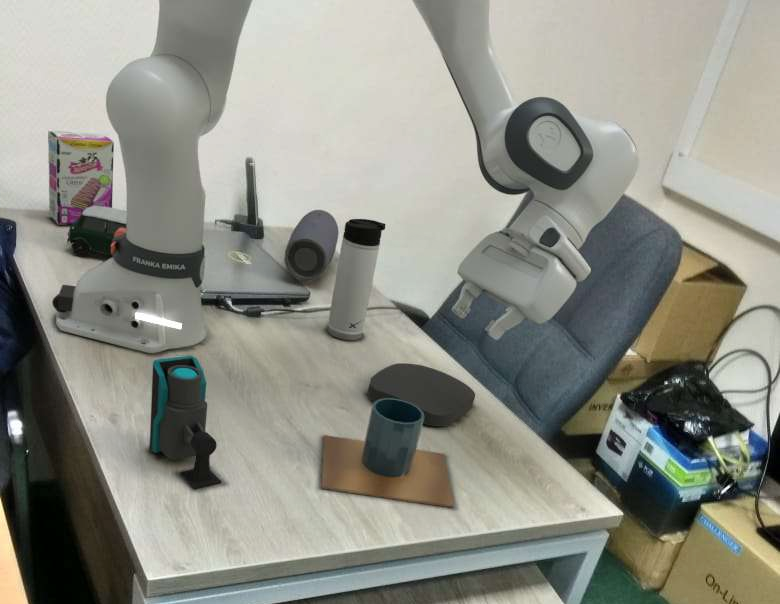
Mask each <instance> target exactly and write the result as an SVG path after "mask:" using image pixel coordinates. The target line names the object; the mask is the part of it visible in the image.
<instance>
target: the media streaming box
mask: <svg viewBox="0 0 780 604" xmlns="http://www.w3.org/2000/svg"><path fill="white" fill-rule="evenodd" d="M367 396H368V398H369V399H371V401H373V402H375V401H376V400H379V399H383V398H394V399H400V400H404V401H407V402H410V403H412V404H414V405H416V406H417V407H419V408H420V409H421V410H422V411H423V413H424V421H423V425H426V426H427V425H428V426H432V427H446V426H450V425H451V424H453V423H455V422H456V421H457V420H459V419H460V418H462V417H463V416H464V415H466V413H468V412H469V411H470V410H471V409H472V408H473V405H474V402H475V398H476V393H475V391H474V390H473V389H472V388H471V387H470V385H468V384H466V383H465V382H463V381H461V380H460V379H458V378H457V377H454V376H452V375H450V374H448V373H445V372H443V371H441V370H438V369H435V368H433V367H429V366H426V365H421V364H416V363H407V362H406V363H405V362H399V363H393V364H391V365H388V366H385V367H384V368H382V369H381V370H379V371H377V372H376V373H375V374H374V375H373V376H372V377H371V378H370V380H369V384H368V389H367Z"/></svg>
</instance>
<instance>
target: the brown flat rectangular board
mask: <svg viewBox="0 0 780 604" xmlns="http://www.w3.org/2000/svg"><path fill="white" fill-rule="evenodd" d="M364 442H365V440H357V439H350V438H345V437H338V436H332V435H325V434H324V435H323V449H322V451H323V452H322V455H323V456H322V475H321V489H323V490H329V491H336V492H343V493H349V494H355V495H356V494H357V495H362V496H363V495H364V496H371V497H378V498H382V499H389V500H397V501H403V502H411V503H416V504H424V505H431V506H438V507H445V508H452V509H453V508H454V501H453V496H452V491H451V485H450V481H449V476H448V471H447V466H446V461H445V456H444V453H438V452H433V451H427V450H421V449H416V452H415V456H414V460H413V464H412V466H411V470H410V471H409V473H407V474H406V475H403V476H399V477H389V476H383V475H380V474H377V473H374V472H372V471H371V470H369V469H368V468H366V467H365V466H364V464H363V463H362V451H363V447H364Z"/></svg>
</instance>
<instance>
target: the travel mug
mask: <svg viewBox="0 0 780 604" xmlns="http://www.w3.org/2000/svg"><path fill="white" fill-rule="evenodd" d="M385 229H386V223H383V222H381V221H378V220H373V219H367V218H352V219H348V221H346V222H345V224H344V232H343V235H342V241H341V245H340V252H339V257H338V262H337V269H336V274H335V279H334V280H335V281H334V287H333V292H332V299H331V304H330V308H329V309H330V310H329V316H328V322H327V327H326V328H327V329H326V330H327V333H328V334H329V335H331V336H332V337H334V338H336V339H339V340H343V341H357V340H360V339H361V338H362V337H363V331H364V327H365V322H366V316H367V312H368V306H369V301H370V296H371V291H372V287H373V286H372V285H373V281H374V276H375V271H376V266H377V261H378V255H379V251H380V245H381V238H382V233H383V231H385Z"/></svg>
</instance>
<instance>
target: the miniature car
mask: <svg viewBox="0 0 780 604" xmlns="http://www.w3.org/2000/svg"><path fill="white" fill-rule="evenodd" d="M119 228H125V229H126V210H123V209H119V208H115V207H112V208H109V207H102V206H91V207H88V208H85V209H84V210H83V211H82V214H81V215H80V216H79V217H78V219H77V220H76V221H75V222H74V223H73V224H72V225H70V227H69V230H68V232H67V236H68V237H67V239H66V244H67V245H68V244H70V246H71V249H72V251H73V254H75V255H77V256H78V257H84V256H87V255H88V254H89V253H90V251H92V252H95V253H100V254H105V255H109V256H112V253H111V244H112V240H113V238H114V234H115V232H116V231H117V230H118V229H119Z"/></svg>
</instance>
